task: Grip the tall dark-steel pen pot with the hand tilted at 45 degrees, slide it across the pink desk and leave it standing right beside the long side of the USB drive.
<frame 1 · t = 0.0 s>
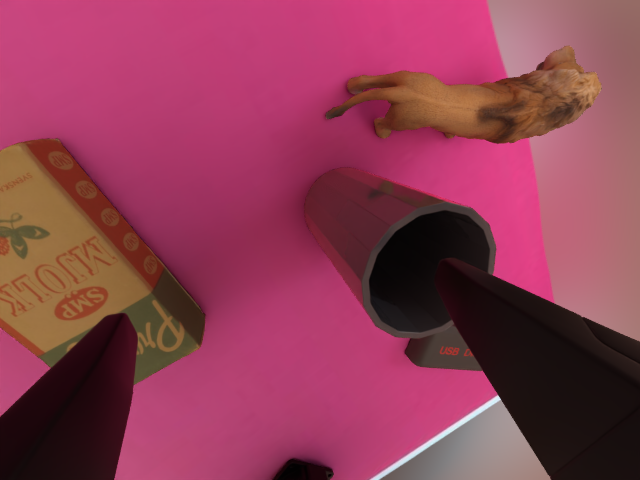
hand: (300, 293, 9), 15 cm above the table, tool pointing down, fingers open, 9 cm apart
usb drive: (455, 336, 34), on the table
carton: (95, 267, 22), on the table
lion figurine: (418, 104, 24), on the table
pen pot: (343, 208, 25), on the table
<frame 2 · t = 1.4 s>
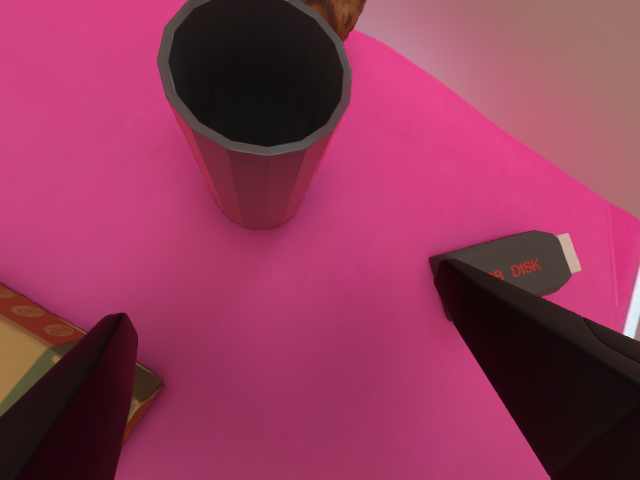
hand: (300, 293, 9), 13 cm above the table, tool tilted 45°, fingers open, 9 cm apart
usb drive: (496, 270, 26), on the table
carton: (9, 374, 18), on the table
lion figurine: (275, 73, 25), on the table
pen pot: (259, 186, 23), on the table
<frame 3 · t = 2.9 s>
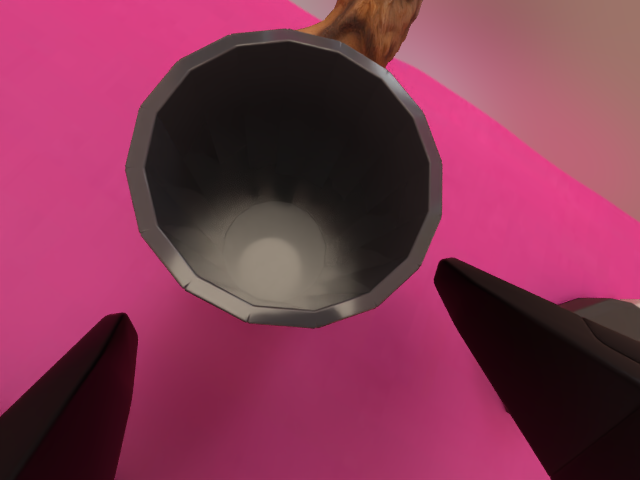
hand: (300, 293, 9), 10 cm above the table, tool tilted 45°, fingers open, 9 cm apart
usb drive: (560, 344, 21), on the table
lion figurine: (292, 109, 21), on the table
pen pot: (275, 251, 18), on the table
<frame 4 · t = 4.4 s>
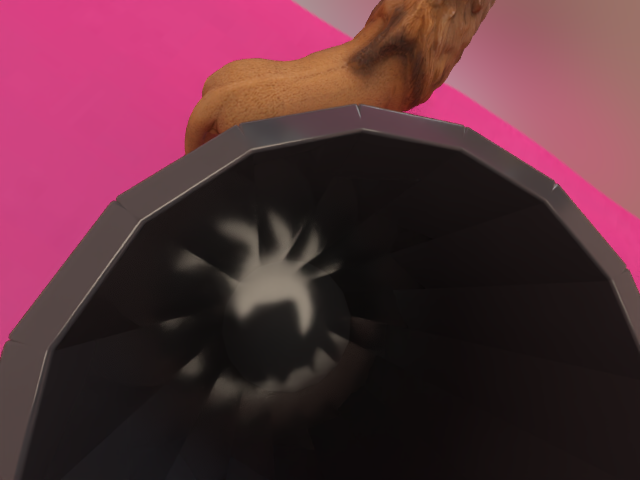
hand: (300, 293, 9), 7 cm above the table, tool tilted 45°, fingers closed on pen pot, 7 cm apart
lion figurine: (307, 140, 17), on the table
pen pot: (287, 322, 15), on the table, touching gripper
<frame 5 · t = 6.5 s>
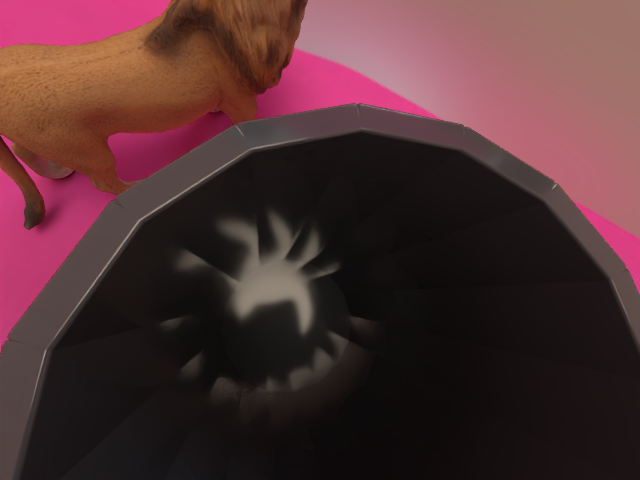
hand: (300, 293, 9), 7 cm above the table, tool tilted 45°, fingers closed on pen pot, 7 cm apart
lion figurine: (182, 135, 16), on the table
pen pot: (287, 322, 15), on the table, touching gripper
when the fingers open (7 cm above the table, at t = 8.6 s): pen pot stays where it is, on the table.
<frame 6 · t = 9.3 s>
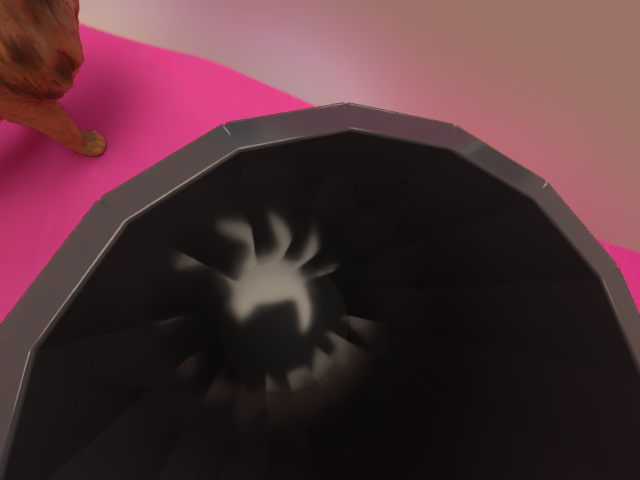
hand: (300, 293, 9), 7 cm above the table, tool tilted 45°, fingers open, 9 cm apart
lion figurine: (10, 152, 14), on the table
pen pot: (285, 322, 15), on the table
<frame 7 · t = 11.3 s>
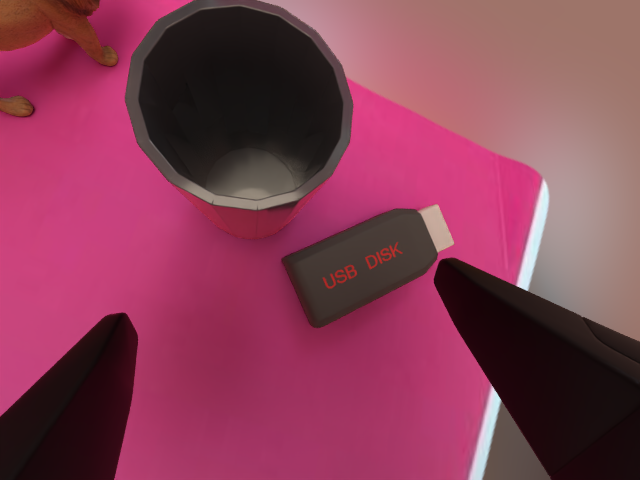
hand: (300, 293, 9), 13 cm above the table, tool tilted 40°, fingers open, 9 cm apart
usb drive: (366, 257, 23), on the table
lion figurine: (48, 61, 19), on the table
pen pot: (251, 192, 21), on the table
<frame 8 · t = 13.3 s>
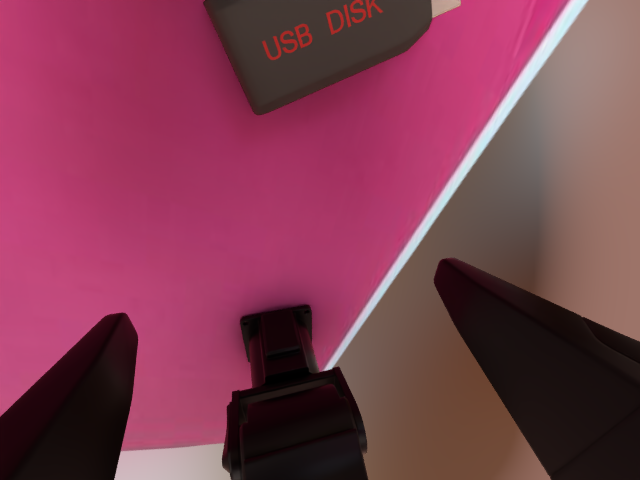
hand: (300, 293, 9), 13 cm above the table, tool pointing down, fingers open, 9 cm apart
usb drive: (332, 16, 16), on the table
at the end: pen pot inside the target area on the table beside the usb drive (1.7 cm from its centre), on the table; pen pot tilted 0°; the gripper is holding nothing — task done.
